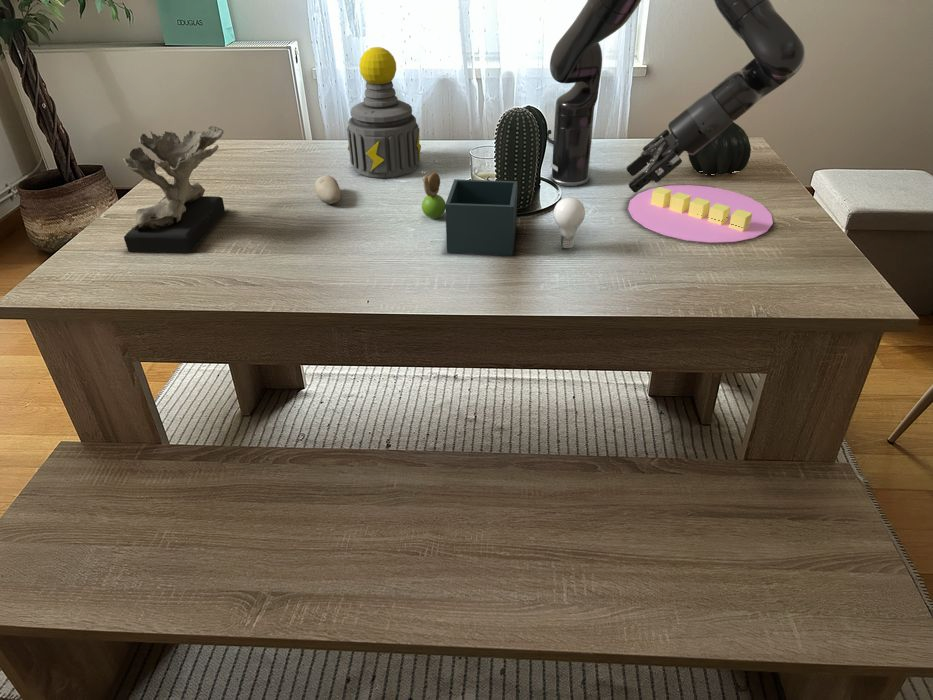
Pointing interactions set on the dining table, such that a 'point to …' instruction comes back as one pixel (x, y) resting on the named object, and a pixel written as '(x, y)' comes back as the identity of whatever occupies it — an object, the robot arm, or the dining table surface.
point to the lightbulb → (568, 219)
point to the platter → (700, 213)
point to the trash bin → (481, 217)
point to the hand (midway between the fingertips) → (630, 180)
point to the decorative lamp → (382, 123)
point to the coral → (174, 193)
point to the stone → (328, 189)
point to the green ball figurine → (432, 196)
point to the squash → (723, 153)
